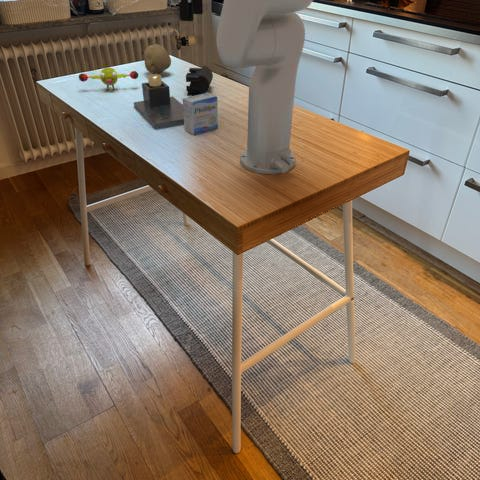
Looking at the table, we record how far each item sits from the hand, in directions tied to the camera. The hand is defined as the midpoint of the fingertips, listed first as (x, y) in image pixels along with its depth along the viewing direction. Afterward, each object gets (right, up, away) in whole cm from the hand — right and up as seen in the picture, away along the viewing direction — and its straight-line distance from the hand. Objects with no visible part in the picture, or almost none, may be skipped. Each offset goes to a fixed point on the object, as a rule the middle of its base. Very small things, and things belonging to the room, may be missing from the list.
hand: (191, 17), depth 111 cm
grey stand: (-9, -20, +14) cm, 26 cm away
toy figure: (-29, -8, +31) cm, 43 cm away
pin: (-12, -14, +16) cm, 24 cm away
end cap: (-1, -9, +31) cm, 32 cm away
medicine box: (+2, -27, +7) cm, 27 cm away
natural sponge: (-16, +2, +44) cm, 47 cm away
